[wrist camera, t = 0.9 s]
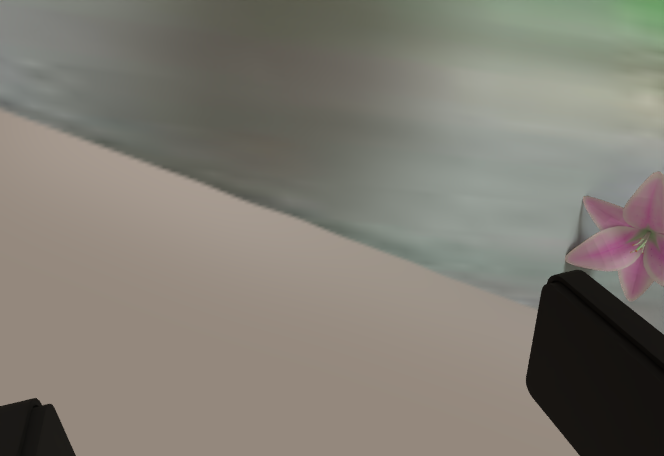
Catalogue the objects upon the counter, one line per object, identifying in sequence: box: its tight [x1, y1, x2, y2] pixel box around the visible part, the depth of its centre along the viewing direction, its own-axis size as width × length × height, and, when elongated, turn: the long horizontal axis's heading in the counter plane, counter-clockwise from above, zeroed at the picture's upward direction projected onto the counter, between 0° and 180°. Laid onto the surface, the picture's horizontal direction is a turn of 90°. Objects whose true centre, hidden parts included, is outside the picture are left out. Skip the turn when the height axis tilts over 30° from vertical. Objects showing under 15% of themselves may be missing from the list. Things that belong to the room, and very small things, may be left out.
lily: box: [565, 171, 664, 301], centre depth 48 cm, size 12×12×10 cm
